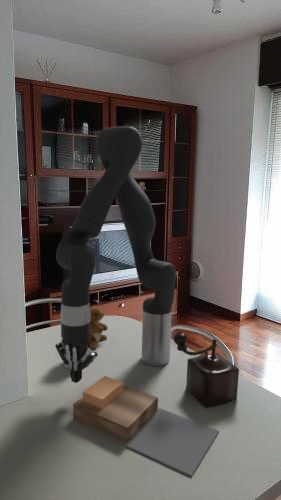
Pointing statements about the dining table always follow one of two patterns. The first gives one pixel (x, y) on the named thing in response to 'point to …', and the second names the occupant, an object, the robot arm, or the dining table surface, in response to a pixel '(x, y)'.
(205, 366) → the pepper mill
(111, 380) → the orange tan block
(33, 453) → the dining table surface
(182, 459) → the mat
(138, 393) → the brown box
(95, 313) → the brown teddy bear
